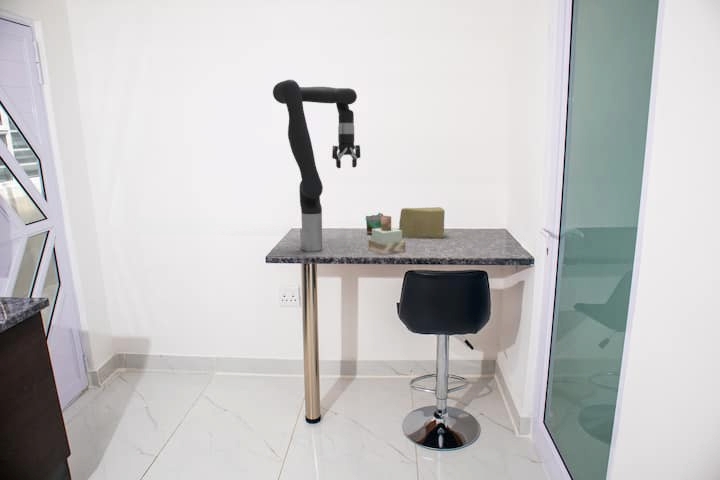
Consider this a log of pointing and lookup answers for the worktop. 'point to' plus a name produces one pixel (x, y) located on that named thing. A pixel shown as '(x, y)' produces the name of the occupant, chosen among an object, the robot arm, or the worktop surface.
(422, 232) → the cheese
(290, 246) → the worktop surface
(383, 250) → the bottom block
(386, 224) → the round block
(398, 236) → the top block
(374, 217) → the food container
